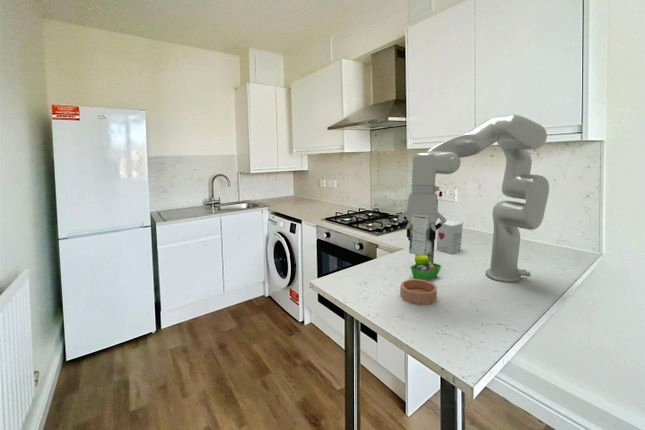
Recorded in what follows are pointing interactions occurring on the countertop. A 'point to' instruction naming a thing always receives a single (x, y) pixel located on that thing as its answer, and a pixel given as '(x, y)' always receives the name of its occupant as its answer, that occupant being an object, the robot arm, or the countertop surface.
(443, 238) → the supplement box
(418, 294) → the bowl
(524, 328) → the countertop surface
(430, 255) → the coffee box
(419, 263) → the fruit basket
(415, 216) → the syrup box
